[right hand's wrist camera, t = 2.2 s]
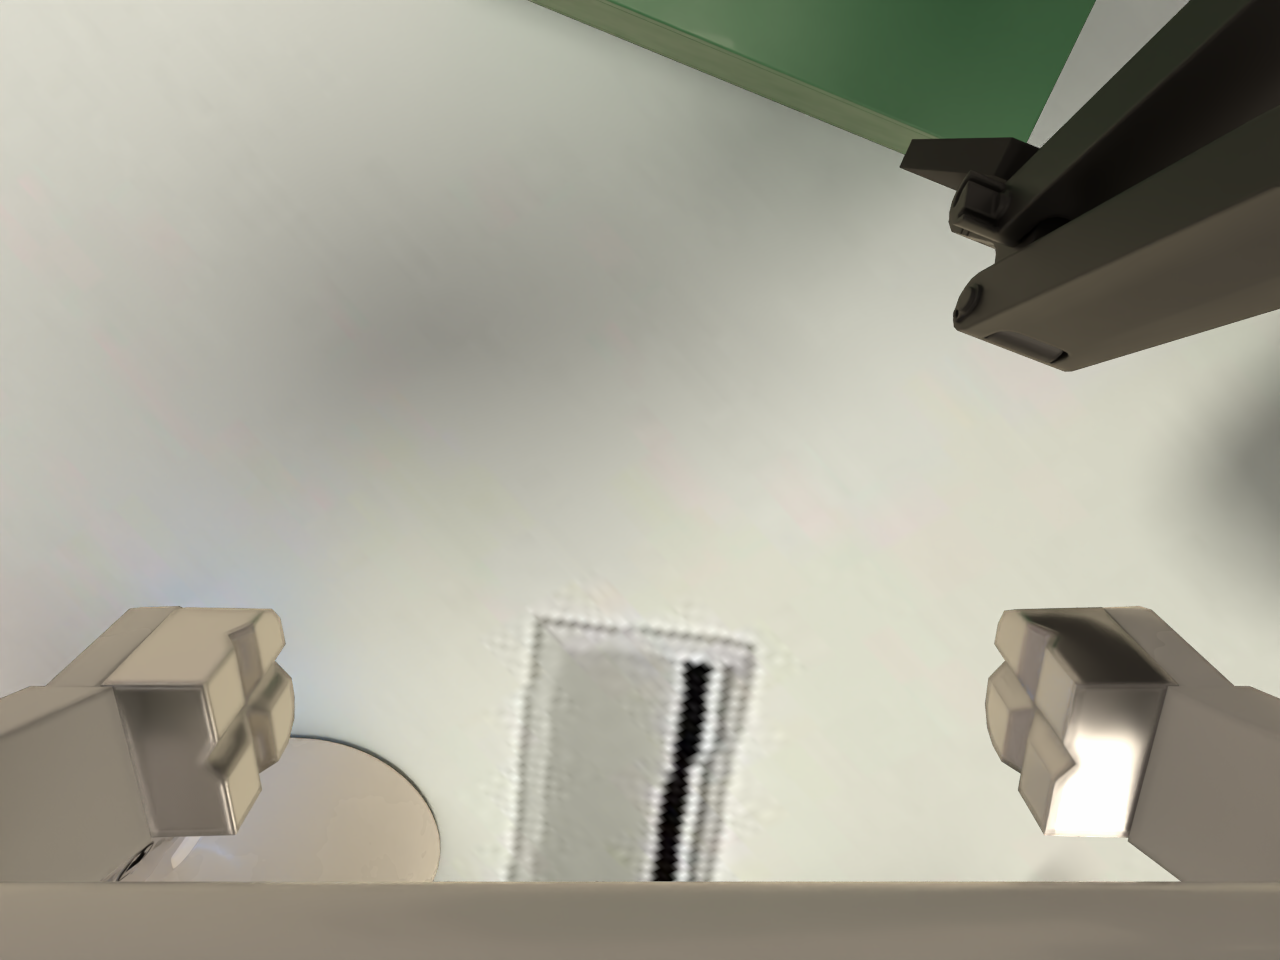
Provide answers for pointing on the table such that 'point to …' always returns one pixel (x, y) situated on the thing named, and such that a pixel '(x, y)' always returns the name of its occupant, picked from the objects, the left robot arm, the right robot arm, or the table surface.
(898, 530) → the table surface
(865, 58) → the cabinet
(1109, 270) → the left robot arm
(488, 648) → the table surface
